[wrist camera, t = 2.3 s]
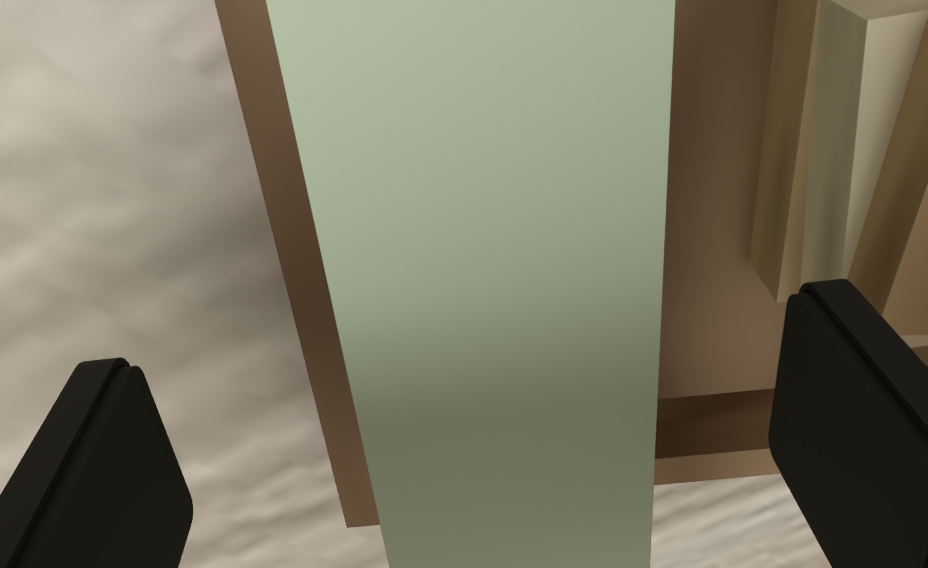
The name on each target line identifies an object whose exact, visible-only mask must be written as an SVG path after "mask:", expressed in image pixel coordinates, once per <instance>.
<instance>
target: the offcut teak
mask: <svg viewBox="0 0 928 568" xmlns="http://www.w3.org/2000/svg"><path fill="white" fill-rule="evenodd" d="M847 280H849V281H850V282H851V283H852V284H853V285H854V286H855V287H856V288H857V289H858V290H859V292H860V293H861V294H862V295H863V296H864V297H865V298H866V299H867V300H868V302H869V303H870V304H871V305H872V306H873V307H874V308H875V309H876V310H877V312H878V313H879V314H880V315H881V316H882V317H883V318H884V319H885V320H886V321H887V323H888V324H889V325H890V326H891V327H892V328H893V329H894V330H895V331H896V333H897V334H898V335H928V19H927V22H926V25H925V29H924V32H923V35H922V38H921V41H920V45H919V48H918V51H917V54H916V58H915V61H914V64H913V67H912V71H911V74H910V77H909V80H908V83H907V87H906V90H905V93H904V96H903V100H902V103H901V106H900V109H899V113H898V116H897V119H896V122H895V125H894V129H893V132H892V135H891V138H890V142H889V145H888V148H887V151H886V155H885V158H884V161H883V164H882V167H881V171H880V174H879V177H878V180H877V184H876V187H875V190H874V193H873V196H872V200H871V203H870V206H869V209H868V213H867V216H866V219H865V222H864V226H863V229H862V232H861V235H860V238H859V242H858V245H857V248H856V251H855V255H854V258H853V261H852V264H851V268H850V271H849V274H848V277H847Z"/></svg>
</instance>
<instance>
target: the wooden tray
mask: <svg viewBox="0 0 928 568" xmlns="http://www.w3.org/2000/svg"><path fill="white" fill-rule="evenodd" d="M215 4H216V8H217V12H218V16H219V20H220V24H221V28H222V32H223V36H224V40H225V44H226V48H227V52H228V56H229V60H230V64H231V68H232V72H233V76H234V80H235V84H236V88H237V92H238V96H239V100H240V104H241V108H242V112H243V116H244V120H245V124H246V128H247V132H248V136H249V140H250V144H251V148H252V152H253V156H254V159H255V163H256V167H257V171H258V175H259V179H260V183H261V187H262V191H263V195H264V199H265V203H266V207H267V211H268V215H269V219H270V223H271V227H272V231H273V235H274V239H275V243H276V247H277V251H278V255H279V259H280V263H281V267H282V271H283V275H284V279H285V283H286V287H287V291H288V295H289V299H290V303H291V307H292V311H293V315H294V319H295V323H296V327H297V331H298V335H299V339H300V343H301V347H302V351H303V355H304V359H305V363H306V367H307V370H308V374H309V378H310V382H311V386H312V390H313V394H314V398H315V402H316V406H317V410H318V414H319V418H320V422H321V426H322V430H323V434H324V438H325V442H326V446H327V450H328V454H329V458H330V462H331V466H332V470H333V474H334V478H335V482H336V486H337V490H338V494H339V498H340V502H341V506H342V510H343V514H344V518H345V522H346V526H347V528H349V527H360V526H371V525H380V521H379V517H378V512H377V507H376V503H375V498H374V494H373V489H372V484H371V480H370V475H369V471H368V466H367V462H366V457H365V452H364V448H363V443H362V439H361V434H360V429H359V425H358V420H357V416H356V411H355V407H354V402H353V397H352V393H351V388H350V384H349V379H348V375H347V370H346V365H345V361H344V356H343V352H342V347H341V342H340V338H339V333H338V329H337V324H336V320H335V315H334V310H333V306H332V301H331V297H330V292H329V287H328V283H327V278H326V274H325V269H324V265H323V260H322V255H321V251H320V246H319V242H318V237H317V232H316V228H315V223H314V219H313V214H312V210H311V205H310V200H309V196H308V191H307V187H306V182H305V177H304V173H303V168H302V164H301V159H300V155H299V150H298V145H297V141H296V136H295V132H294V127H293V122H292V118H291V113H290V109H289V104H288V100H287V95H286V90H285V86H284V81H283V77H282V72H281V67H280V63H279V58H278V54H277V49H276V45H275V40H274V35H273V31H272V26H271V22H270V17H269V12H268V8H267V3H266V0H215ZM777 6H778V0H675V17H674V39H673V62H672V84H671V106H670V129H669V151H668V173H667V196H666V218H665V241H664V263H663V285H662V308H661V330H660V352H659V375H658V397H657V419H656V442H655V464H654V485H662V484H673V483H684V482H694V481H705V480H716V479H727V478H737V477H748V476H759V475H770V474H780V471H779V469H778V467H777V465H776V463H775V462H774V460H773V457H772V455H771V452H770V447H769V440H768V434H769V426H770V419H771V412H772V405H773V397H774V390H775V383H776V376H777V369H778V362H779V355H780V348H781V341H782V334H783V327H784V319H785V312H786V305H787V302H781V303H776V301H775V300H774V298H773V297H772V295H771V294H770V292H769V291H768V289H767V288H766V286H765V285H764V283H763V282H762V280H761V279H760V277H759V276H758V274H757V273H756V271H755V270H754V268H753V267H752V265H751V264H750V262H749V258H750V249H751V240H752V231H753V222H754V213H755V204H756V195H757V186H758V177H759V168H760V159H761V150H762V141H763V132H764V123H765V114H766V105H767V96H768V87H769V78H770V69H771V60H772V51H773V42H774V33H775V24H776V15H777ZM911 349H912V350H913V351H914V353H915V354H916V355H917V356H918V357H919V358H920V359H921V360H922V361H923V363H924V364H925V365H926V366H928V345H927V346H920V347H913V348H911Z"/></svg>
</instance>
